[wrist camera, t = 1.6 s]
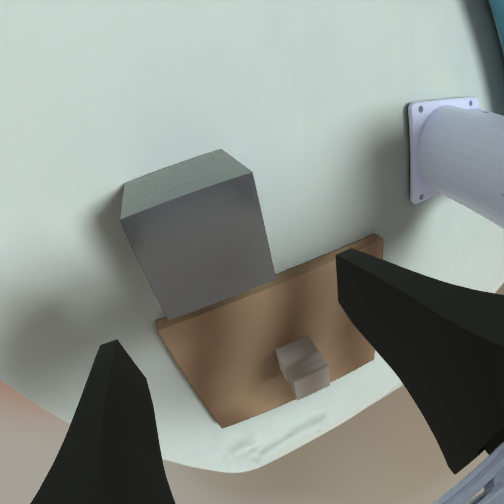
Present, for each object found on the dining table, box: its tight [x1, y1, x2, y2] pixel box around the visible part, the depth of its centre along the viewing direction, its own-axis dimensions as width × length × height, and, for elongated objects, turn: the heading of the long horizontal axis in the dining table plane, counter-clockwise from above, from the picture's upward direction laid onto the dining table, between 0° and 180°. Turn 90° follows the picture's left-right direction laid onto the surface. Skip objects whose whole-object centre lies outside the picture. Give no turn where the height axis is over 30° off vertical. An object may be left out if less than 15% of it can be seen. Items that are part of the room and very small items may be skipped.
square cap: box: [120, 149, 276, 320], centre depth 15 cm, size 5×5×5 cm
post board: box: [156, 234, 383, 428], centre depth 24 cm, size 17×15×4 cm
